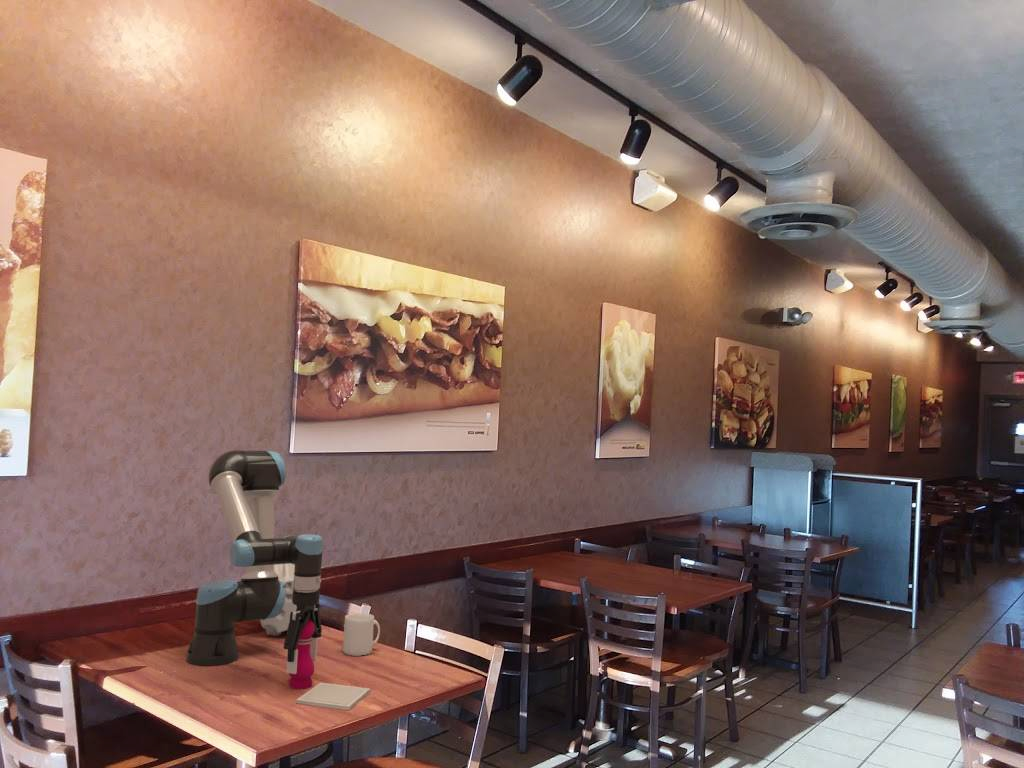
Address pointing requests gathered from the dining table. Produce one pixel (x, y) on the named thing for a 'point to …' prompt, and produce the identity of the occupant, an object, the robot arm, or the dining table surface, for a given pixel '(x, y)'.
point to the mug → (359, 634)
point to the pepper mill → (303, 660)
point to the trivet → (333, 696)
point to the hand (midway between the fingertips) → (301, 666)
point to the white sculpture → (282, 620)
